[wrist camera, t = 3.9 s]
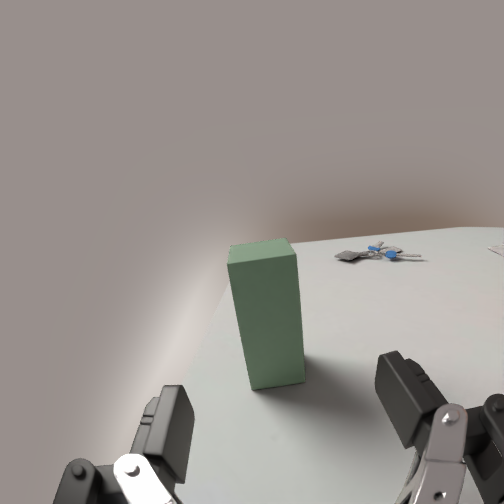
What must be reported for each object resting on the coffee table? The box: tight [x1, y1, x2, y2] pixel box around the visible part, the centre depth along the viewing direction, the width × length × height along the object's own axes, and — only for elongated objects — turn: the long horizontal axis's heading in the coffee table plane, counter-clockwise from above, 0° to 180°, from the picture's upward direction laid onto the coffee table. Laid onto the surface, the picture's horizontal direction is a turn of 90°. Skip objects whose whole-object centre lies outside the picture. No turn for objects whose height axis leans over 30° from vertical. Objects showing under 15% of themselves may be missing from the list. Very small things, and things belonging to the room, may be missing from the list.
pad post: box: [227, 238, 305, 390], centre depth 19 cm, size 4×4×10 cm
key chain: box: [335, 241, 421, 260], centre depth 42 cm, size 14×8×1 cm, turn 71°
